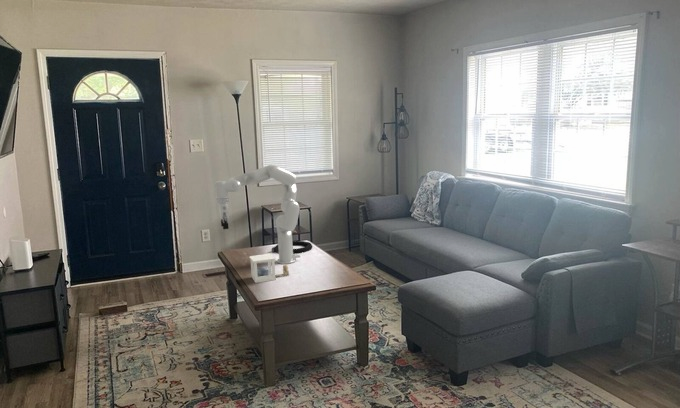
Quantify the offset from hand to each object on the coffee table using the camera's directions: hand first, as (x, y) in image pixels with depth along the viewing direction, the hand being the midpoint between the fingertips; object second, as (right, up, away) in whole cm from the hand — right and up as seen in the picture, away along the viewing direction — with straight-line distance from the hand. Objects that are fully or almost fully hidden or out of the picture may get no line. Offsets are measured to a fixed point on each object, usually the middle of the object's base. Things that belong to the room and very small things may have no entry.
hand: (225, 227), depth 327 cm
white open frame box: (+26, -30, -13) cm, 42 cm away
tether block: (+32, -30, -11) cm, 45 cm away
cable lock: (+37, -19, +54) cm, 68 cm away
